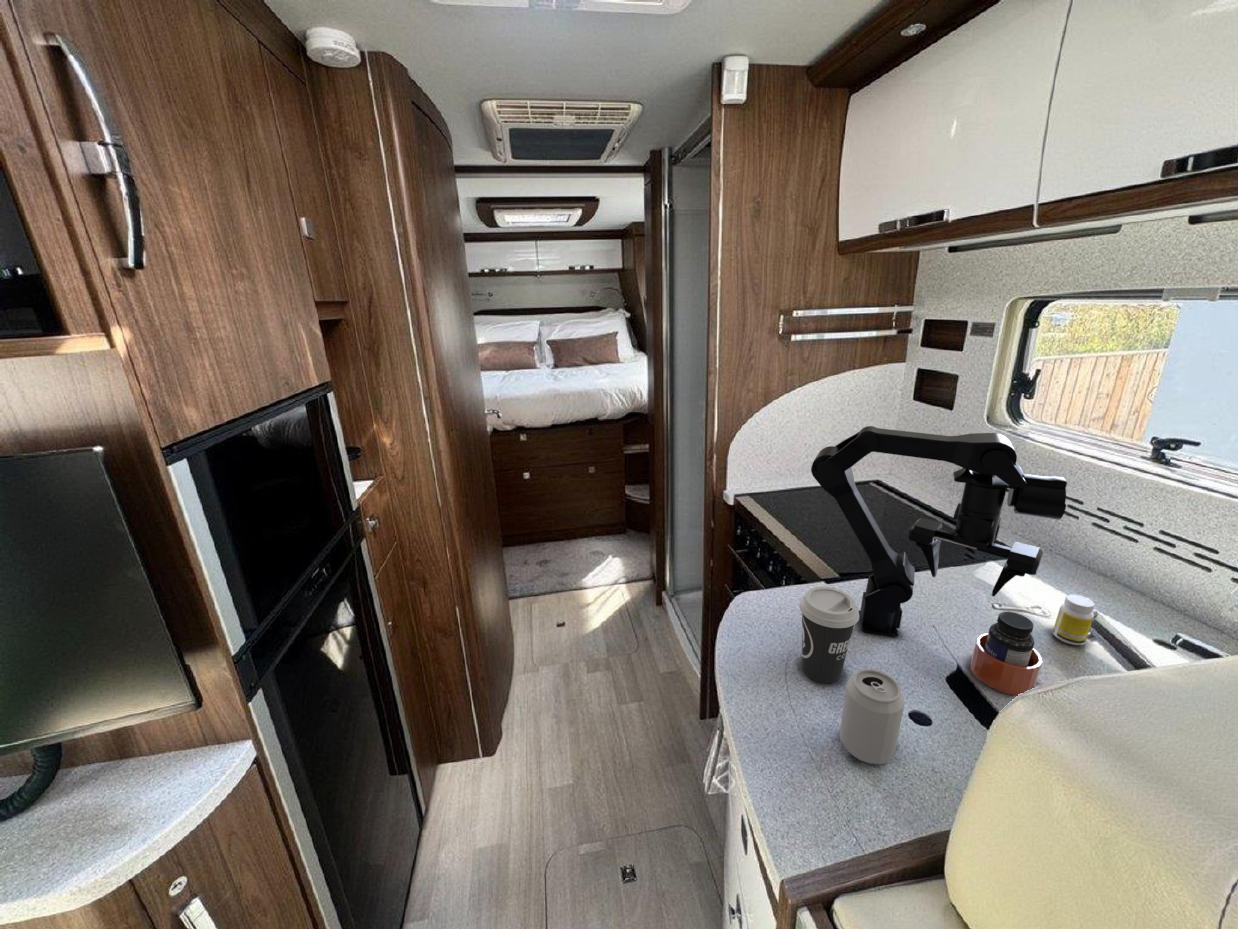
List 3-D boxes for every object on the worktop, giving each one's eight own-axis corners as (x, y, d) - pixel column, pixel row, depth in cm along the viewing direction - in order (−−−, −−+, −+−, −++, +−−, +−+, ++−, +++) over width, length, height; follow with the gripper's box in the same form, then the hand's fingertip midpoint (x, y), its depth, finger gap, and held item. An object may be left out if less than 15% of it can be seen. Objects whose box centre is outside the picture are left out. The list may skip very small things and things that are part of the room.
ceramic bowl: (981, 689, 84) (988, 663, 82) (962, 653, 92) (968, 629, 91) (1044, 699, 82) (1053, 673, 80) (1020, 662, 90) (1027, 637, 88)
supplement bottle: (1091, 647, 93) (1104, 609, 90) (1061, 644, 94) (1073, 607, 91) (1074, 630, 97) (1086, 594, 94) (1046, 628, 98) (1057, 592, 95)
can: (877, 724, 79) (888, 663, 75) (904, 767, 72) (918, 702, 67) (830, 727, 78) (838, 665, 74) (853, 770, 71) (863, 705, 67)
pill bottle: (973, 658, 91) (986, 606, 87) (1012, 662, 89) (1026, 610, 86) (989, 683, 85) (1004, 629, 81) (1031, 687, 84) (1047, 633, 80)
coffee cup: (814, 696, 84) (823, 622, 79) (782, 658, 93) (789, 589, 88) (862, 683, 87) (874, 610, 82) (826, 647, 95) (835, 580, 90)
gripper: (1057, 507, 84) (1034, 586, 90) (932, 481, 97) (919, 551, 102) (1048, 530, 77) (1024, 614, 82) (914, 498, 90) (901, 573, 95)
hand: (962, 585), depth 91 cm, fingers open, 9 cm apart
